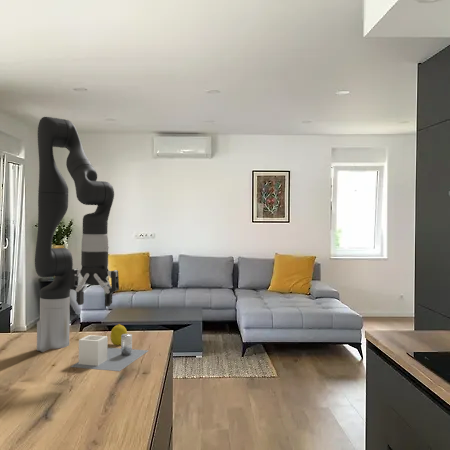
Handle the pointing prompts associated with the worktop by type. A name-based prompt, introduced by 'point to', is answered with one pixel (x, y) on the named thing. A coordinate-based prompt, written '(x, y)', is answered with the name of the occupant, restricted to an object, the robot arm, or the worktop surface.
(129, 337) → the silver metal capsule
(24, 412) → the worktop surface
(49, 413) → the worktop surface
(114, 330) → the lemon
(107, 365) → the duct base
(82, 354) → the duct collar
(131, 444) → the worktop surface
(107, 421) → the worktop surface
